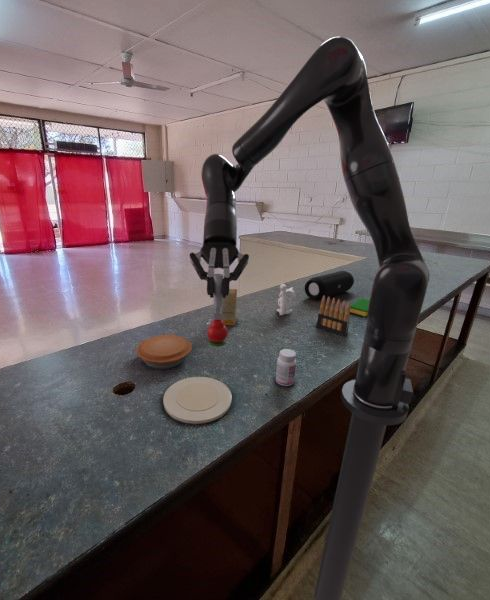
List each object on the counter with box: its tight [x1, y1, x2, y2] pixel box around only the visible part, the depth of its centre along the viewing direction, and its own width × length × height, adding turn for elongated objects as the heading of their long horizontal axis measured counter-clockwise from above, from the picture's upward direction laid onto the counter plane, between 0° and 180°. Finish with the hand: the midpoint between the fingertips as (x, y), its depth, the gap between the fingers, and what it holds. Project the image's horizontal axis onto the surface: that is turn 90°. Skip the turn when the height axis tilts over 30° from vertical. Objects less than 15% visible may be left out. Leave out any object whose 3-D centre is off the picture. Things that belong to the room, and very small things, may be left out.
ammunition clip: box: [315, 295, 351, 336], centre depth 109 cm, size 11×2×12 cm, turn 49°
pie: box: [136, 334, 193, 370], centre depth 90 cm, size 16×16×5 cm
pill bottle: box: [275, 348, 297, 387], centre depth 80 cm, size 5×5×8 cm
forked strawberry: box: [206, 273, 229, 348], centre depth 69 cm, size 5×5×16 cm
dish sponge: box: [350, 297, 370, 317], centre depth 129 cm, size 7×14×2 cm, turn 137°
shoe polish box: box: [221, 288, 238, 327], centre depth 113 cm, size 5×5×12 cm
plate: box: [162, 376, 233, 425], centre depth 74 cm, size 16×16×1 cm
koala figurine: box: [276, 283, 297, 316], centre depth 123 cm, size 8×7×12 cm
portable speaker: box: [304, 270, 355, 301], centre depth 144 cm, size 26×10×10 cm, turn 127°
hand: (218, 296), depth 66 cm, fingers closed on forked strawberry
